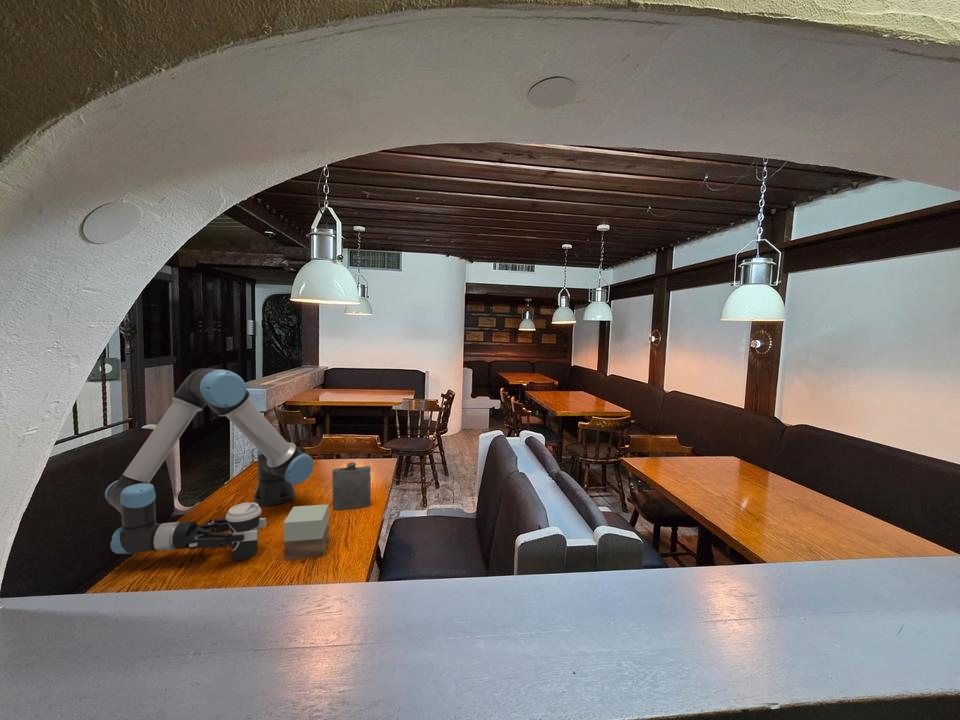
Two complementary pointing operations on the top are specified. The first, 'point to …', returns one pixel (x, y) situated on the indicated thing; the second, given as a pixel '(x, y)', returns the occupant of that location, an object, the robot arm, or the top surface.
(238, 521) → the coffee cup
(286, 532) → the tower top
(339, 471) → the flask
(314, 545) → the tower base
